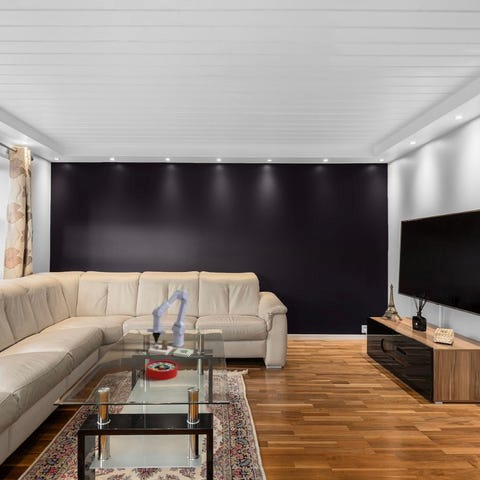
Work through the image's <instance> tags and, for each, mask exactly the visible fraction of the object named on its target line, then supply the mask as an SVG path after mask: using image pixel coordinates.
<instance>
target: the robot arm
mask: <svg viewBox="0 0 480 480" xmlns="http://www.w3.org/2000/svg"><path fill="white" fill-rule="evenodd" d="M189 295H190V294H189V293H188V291H187V290H182V289H179V288H178V289H176V290H175V291H174V292H173V294H172V296H170V297H169V299H167V300H166V301H163V302H162V303H161V304H160V305H159V306H157V308H156V307H155V308H154V309H153V311H151V314H152V317H153V325H152V328H147V330H146V331H147V333H152V337H153V339H154V343H155V344H156V343H158V341H159V338H160V336H161V335H166V334H167V330H162V317H163V316H164V314H165V312H166V311H167V310H168V309H169V308H170V305H171V304H173V303H174V302H175V301H176V300H179V301H180V305H179V309H178V313H177V318H176V321H175V322H174V323H173V325H172V327H171V331H172V334H173V338H172V339H173V341H172V344H171V345H170V346H171V347H177V348H181V347H182V346H184V345H185V342H184V339H185V338H184V337H185V336H184V334H185V332H186V324H185V322H184V321H185V316H186V313H187V309H188V304H189Z"/></svg>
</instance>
